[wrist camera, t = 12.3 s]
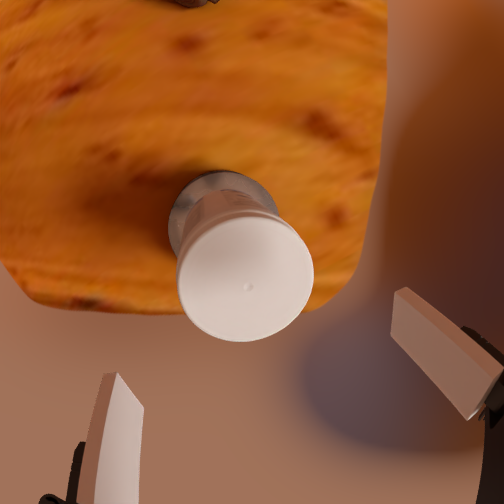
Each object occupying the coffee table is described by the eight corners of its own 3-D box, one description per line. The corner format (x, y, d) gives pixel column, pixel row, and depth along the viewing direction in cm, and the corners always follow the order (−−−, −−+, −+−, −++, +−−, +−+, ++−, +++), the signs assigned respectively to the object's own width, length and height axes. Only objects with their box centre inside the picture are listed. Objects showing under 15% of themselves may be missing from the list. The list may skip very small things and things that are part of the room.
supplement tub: (209, 280, 33) (217, 364, 19) (169, 212, 29) (142, 263, 16) (280, 243, 33) (332, 306, 19) (246, 171, 29) (285, 188, 16)
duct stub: (155, 237, 35) (149, 250, 30) (204, 151, 32) (205, 150, 28) (237, 280, 39) (242, 297, 35) (287, 202, 37) (300, 210, 32)
